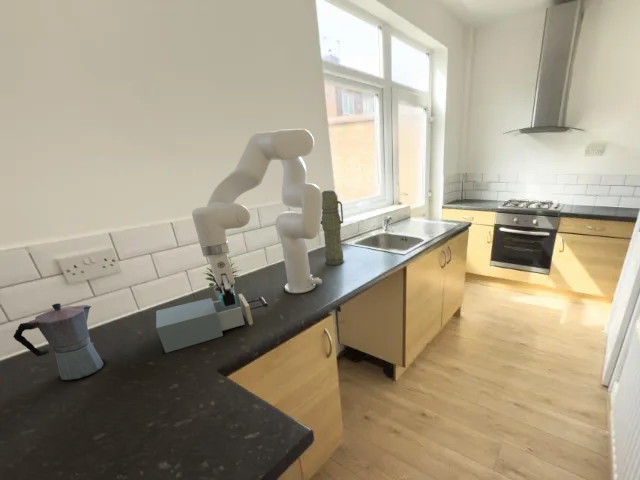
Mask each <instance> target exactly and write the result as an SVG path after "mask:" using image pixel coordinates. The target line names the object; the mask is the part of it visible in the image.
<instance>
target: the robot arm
mask: <svg viewBox="0 0 640 480" xmlns="http://www.w3.org/2000/svg"><path fill="white" fill-rule="evenodd" d="M314 148H315V138H314V136H313V135H312V133H311V132H310V131H309V130H308V129H306V128H288V129H277V130H274V131H259V132H255V133H253V134H252V135H251V136H250V138H249V140H248V141H247V144H246V146H245V148H244V150H243V152H242V154H241V156H240V159H239V160H238V163H237V164H236V166H235V168H234V170H233V171H231V172H230V173H229V174H227V176H226V177H225V178H224V179H223V180H221V181H220V182H219V183H218V184H217V186H216V187H215V188H214V190H213V191H212V193H211V194H210V195H211V196H210V197H209V200H208V201H207V204H206V206H202V207H197V208H195V209H193V210H192V212H191V215H192V216H191V217H192V219H193V224H194V228H195V231H196V234H197V239H198V243H199V246H200V250H201V253H202V256H203V257H205V258H208V263H209V265H210V269H212V272H213V274H212V275H213V276H214V278H215V280H216V282H217V284H218V286H219V287H220V289H219V290H220V293H223V295H222V297H223V301H224V305H225V306H230V305H234V304H235V299H234V295H233V292H232V289H231V285H230V283H231V284H233V285H235V284H236V281H235V280H236V279H234V277H235V276H234V277H233V275H234V273H232V272H233V271H232V270H233V268H232V267H231V262H230V259H229V255H228V254H229V253H230V252H231V250H230V245H229V241H228V237H227V232H226V230H233V229H240V228H244V227H245V226H247V225H248V224H249V222H250V220H251V212H250V211H249V209H248V208H247V207H246V206H245V205H243V204H240V203H236V202H235V201H236V200H237V199H238V198H239V197H240V196H241V195H243V194H245V193H246V192H248V191H251V190H253V189H255V188H257V187H259V186H260V185H261V184H262V183H263V181H264V179H265V177H266V174H267V172H268V170H269V167H270V165H271V163H272V161H280V163H281V165H282V185H281V187H282V188H281V201H282V204H283V205H284V206H285V207H287V208H290V209H297V210H301V212H298V211H283V212H280V214H279V215H277V217H276V219H275V228H276V232H277V234H278V238H279V241H280V244H281V248H282V256H283V261H284V267H285V274H286V279H287V283H286V284H285V285H284V291H285V292H287V293H289V294H303V293H307V292H310V291H312V290H314V289H315V288H316V285H321V284H323V280H322V278H320V277H313V274H311V269H310V268H311V267H310V260H309V253H308V252H309V251H308V245H307V242H306V240H313V239H315V238H316V237H318V235H319V233H320V230H321V224H320V223H321V221H322V211H323V210H322V191H321V189H320V187H319V186H318V185H316V184H314V183H310V182H307V167H306V164H305V162H304V160H303V158H302V157H305V156H308V155H310V154H311V153H312V152H313V150H314Z"/></svg>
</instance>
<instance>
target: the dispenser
mask: <svg viewBox="0 0 640 480" xmlns="http://www.w3.org/2000/svg"><path fill="white" fill-rule="evenodd" d="M213 302H214V301H213V298H212V297H209V298H204V299H199V300H196V301H192V302H187V303H183V304H179V305H174V306H171V307H166V308H162V309H158V310H156V312H155V324H156V325H155V329H156V331H157V334H158V336H159V339H160V342H161V344H162V347H163V350H164V353H165V354H167V353H170V352H174V351H177V350H180V349H184V348H187V347H190V346H194V345H197V344H200V343H205V342H207V341H211V340H214V339H217V338H221V337H224V334H223V331H222V330H221V326H220V323H219V319H218V316H217V312H216V309H215V307H214V304H213Z"/></svg>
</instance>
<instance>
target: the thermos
mask: <svg viewBox="0 0 640 480" xmlns="http://www.w3.org/2000/svg"><path fill="white" fill-rule="evenodd" d="M336 193H337V192H336V191H334V190H323V191H321V194H322V212H321V223H320V225H322V230H323V238H324V245H325V247H324V248H325V251H324V257H325V260H326V261H325V263H326V265H327V266H339V265H341V264H343V263H344V251H343V248H342V239H341V228H342V224H344V213H343V212H344V211H343V210H344V209H343V203H342V202H341V200H338V196H337V194H336ZM338 204H339V205H340V214H339V210H338V209H339V205H338Z"/></svg>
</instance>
